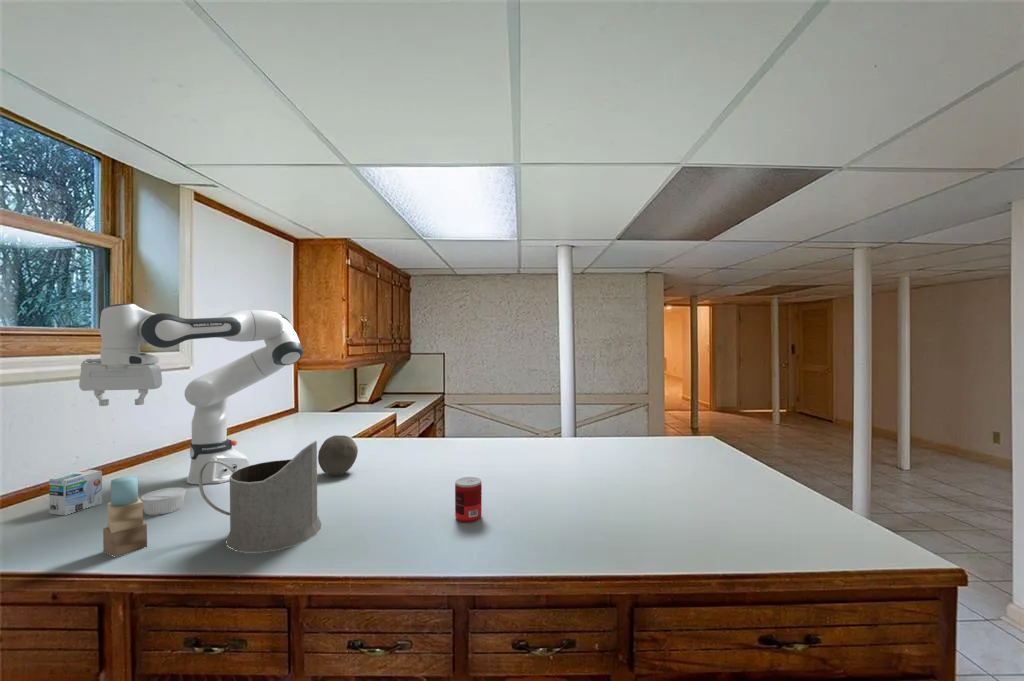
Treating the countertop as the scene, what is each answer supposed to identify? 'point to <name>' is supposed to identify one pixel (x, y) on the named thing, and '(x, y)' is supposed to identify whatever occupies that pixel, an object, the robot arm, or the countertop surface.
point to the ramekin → (163, 500)
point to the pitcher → (272, 503)
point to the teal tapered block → (124, 491)
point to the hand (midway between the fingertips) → (121, 405)
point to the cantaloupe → (337, 455)
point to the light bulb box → (75, 491)
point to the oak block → (125, 516)
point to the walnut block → (124, 540)
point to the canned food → (468, 499)
